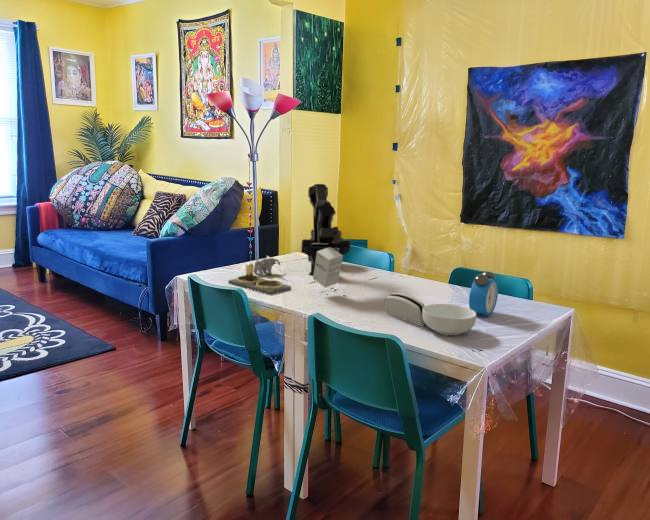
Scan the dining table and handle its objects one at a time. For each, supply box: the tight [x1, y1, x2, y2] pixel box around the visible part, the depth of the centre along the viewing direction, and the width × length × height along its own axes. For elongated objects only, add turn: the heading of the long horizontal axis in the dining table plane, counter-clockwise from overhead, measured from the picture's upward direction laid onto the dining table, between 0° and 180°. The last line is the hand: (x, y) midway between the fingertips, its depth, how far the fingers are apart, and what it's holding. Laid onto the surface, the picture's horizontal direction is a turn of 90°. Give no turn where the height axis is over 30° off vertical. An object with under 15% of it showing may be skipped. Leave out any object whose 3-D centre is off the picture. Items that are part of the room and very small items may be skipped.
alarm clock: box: [468, 271, 499, 318], centre depth 196 cm, size 13×6×15 cm, turn 144°
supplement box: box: [312, 247, 344, 288], centre depth 212 cm, size 7×7×13 cm
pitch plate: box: [228, 262, 292, 295], centre depth 224 cm, size 24×12×8 cm, turn 50°
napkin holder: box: [384, 292, 426, 326], centre depth 188 cm, size 17×5×10 cm, turn 39°
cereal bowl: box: [422, 303, 477, 336], centre depth 177 cm, size 17×17×7 cm
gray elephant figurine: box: [253, 255, 281, 277], centre depth 246 cm, size 9×12×8 cm
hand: (326, 264), depth 212 cm, fingers closed on supplement box, 9 cm apart
